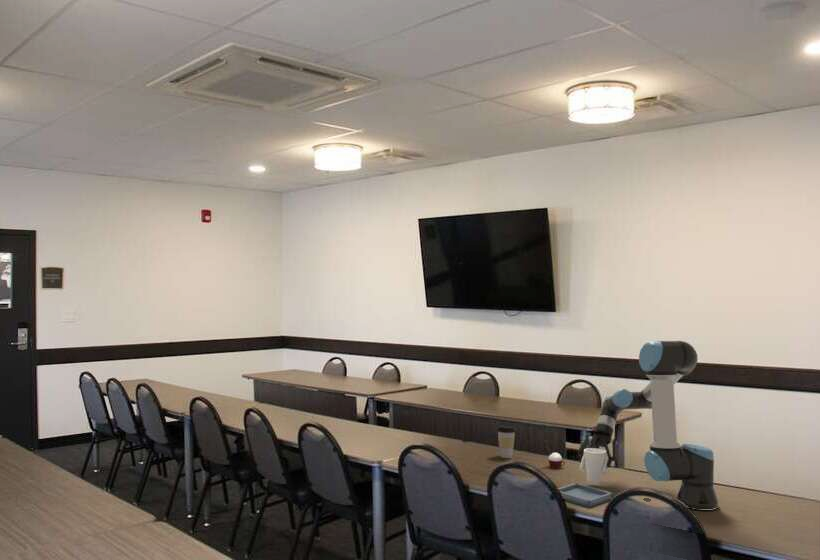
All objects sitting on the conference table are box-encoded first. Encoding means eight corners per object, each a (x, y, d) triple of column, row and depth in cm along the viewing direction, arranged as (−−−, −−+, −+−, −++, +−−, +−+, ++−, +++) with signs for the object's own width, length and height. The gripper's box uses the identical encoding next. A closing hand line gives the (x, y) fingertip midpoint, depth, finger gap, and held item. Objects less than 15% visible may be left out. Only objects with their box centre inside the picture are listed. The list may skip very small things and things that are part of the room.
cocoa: (566, 468, 322) (567, 443, 322) (557, 470, 318) (559, 444, 318) (550, 463, 329) (551, 438, 329) (541, 465, 325) (543, 440, 325)
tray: (613, 499, 276) (613, 493, 276) (589, 507, 266) (589, 501, 266) (576, 488, 290) (576, 482, 290) (552, 496, 280) (552, 490, 280)
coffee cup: (495, 458, 338) (495, 428, 338) (498, 453, 347) (498, 424, 347) (514, 459, 336) (514, 429, 336) (517, 455, 345) (517, 425, 345)
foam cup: (604, 478, 297) (604, 448, 298) (608, 484, 288) (608, 453, 288) (582, 477, 298) (582, 447, 299) (585, 483, 289) (585, 452, 289)
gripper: (631, 436, 300) (620, 480, 287) (583, 430, 312) (570, 472, 299) (628, 425, 295) (616, 470, 282) (578, 420, 308) (565, 462, 295)
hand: (592, 471), depth 291 cm, fingers closed on foam cup, 9 cm apart
